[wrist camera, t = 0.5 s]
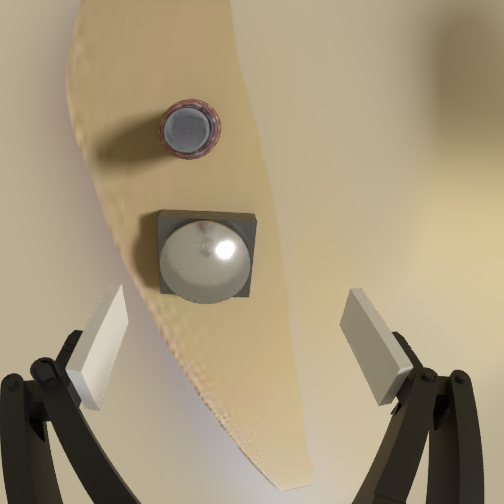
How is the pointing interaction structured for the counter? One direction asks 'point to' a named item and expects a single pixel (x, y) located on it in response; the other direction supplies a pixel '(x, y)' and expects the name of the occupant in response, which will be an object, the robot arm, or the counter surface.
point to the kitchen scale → (205, 254)
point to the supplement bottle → (189, 129)
